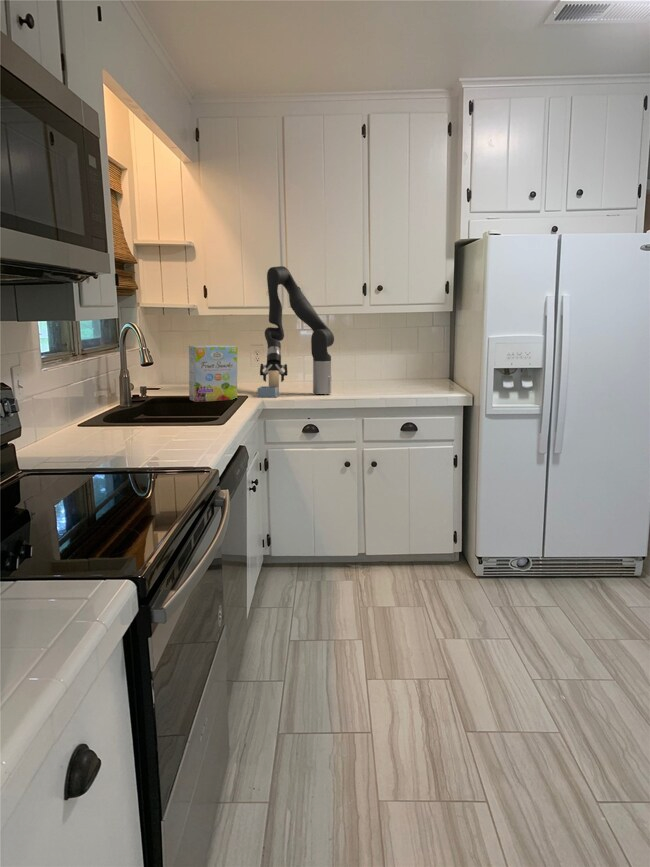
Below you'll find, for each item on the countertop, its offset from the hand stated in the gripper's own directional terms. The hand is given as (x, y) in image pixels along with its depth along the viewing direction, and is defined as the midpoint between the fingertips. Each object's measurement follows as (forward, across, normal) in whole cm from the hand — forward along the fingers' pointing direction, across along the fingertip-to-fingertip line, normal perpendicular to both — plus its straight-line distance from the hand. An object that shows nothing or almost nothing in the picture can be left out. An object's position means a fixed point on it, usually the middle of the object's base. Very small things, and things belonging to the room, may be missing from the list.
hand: (273, 380), depth 318 cm
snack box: (+22, -28, -12) cm, 37 cm away
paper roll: (+5, 0, +5) cm, 7 cm away
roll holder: (+11, -2, -2) cm, 12 cm away
